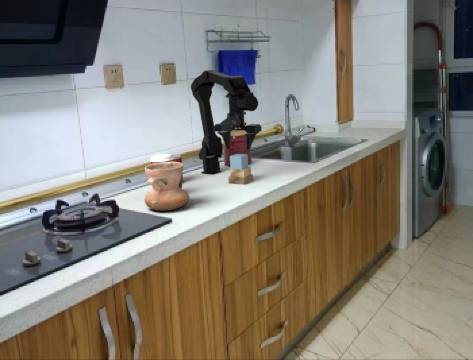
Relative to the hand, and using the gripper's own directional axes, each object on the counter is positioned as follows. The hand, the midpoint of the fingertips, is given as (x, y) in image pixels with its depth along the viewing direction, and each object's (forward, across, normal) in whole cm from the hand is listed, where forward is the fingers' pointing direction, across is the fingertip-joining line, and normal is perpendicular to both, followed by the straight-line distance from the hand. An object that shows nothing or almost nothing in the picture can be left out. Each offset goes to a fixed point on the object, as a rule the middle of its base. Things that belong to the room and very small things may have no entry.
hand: (238, 149), depth 193 cm
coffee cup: (+12, -11, -32) cm, 36 cm away
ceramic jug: (+12, -1, -42) cm, 44 cm away
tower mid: (+10, +2, -3) cm, 10 cm away
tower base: (+12, +2, -3) cm, 13 cm away
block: (+6, +2, -3) cm, 7 cm away
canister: (+13, -19, +28) cm, 36 cm away
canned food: (+13, -22, -14) cm, 29 cm away
